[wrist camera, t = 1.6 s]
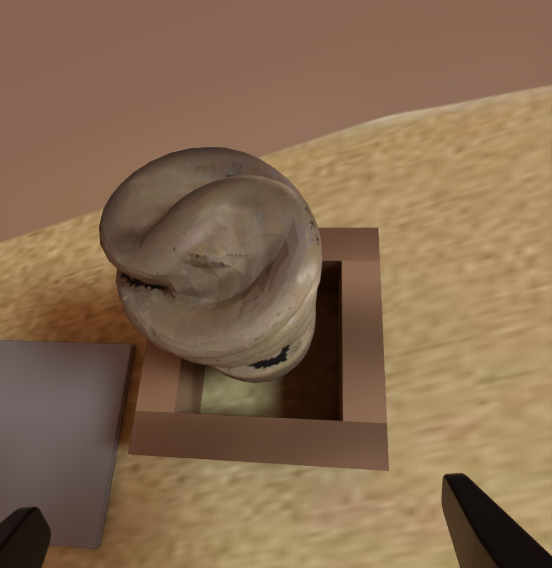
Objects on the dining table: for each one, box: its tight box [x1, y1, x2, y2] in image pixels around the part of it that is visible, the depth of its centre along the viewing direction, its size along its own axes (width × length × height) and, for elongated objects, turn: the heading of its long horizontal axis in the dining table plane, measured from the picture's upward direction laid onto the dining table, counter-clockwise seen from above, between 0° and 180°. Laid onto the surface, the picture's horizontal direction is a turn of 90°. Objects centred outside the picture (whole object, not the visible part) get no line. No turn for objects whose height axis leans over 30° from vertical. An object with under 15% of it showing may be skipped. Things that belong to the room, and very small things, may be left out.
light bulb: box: [99, 147, 322, 383], centre depth 15 cm, size 6×6×15 cm
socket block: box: [128, 228, 389, 471], centre depth 20 cm, size 11×11×4 cm
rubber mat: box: [0, 340, 135, 549], centre depth 22 cm, size 10×10×1 cm
